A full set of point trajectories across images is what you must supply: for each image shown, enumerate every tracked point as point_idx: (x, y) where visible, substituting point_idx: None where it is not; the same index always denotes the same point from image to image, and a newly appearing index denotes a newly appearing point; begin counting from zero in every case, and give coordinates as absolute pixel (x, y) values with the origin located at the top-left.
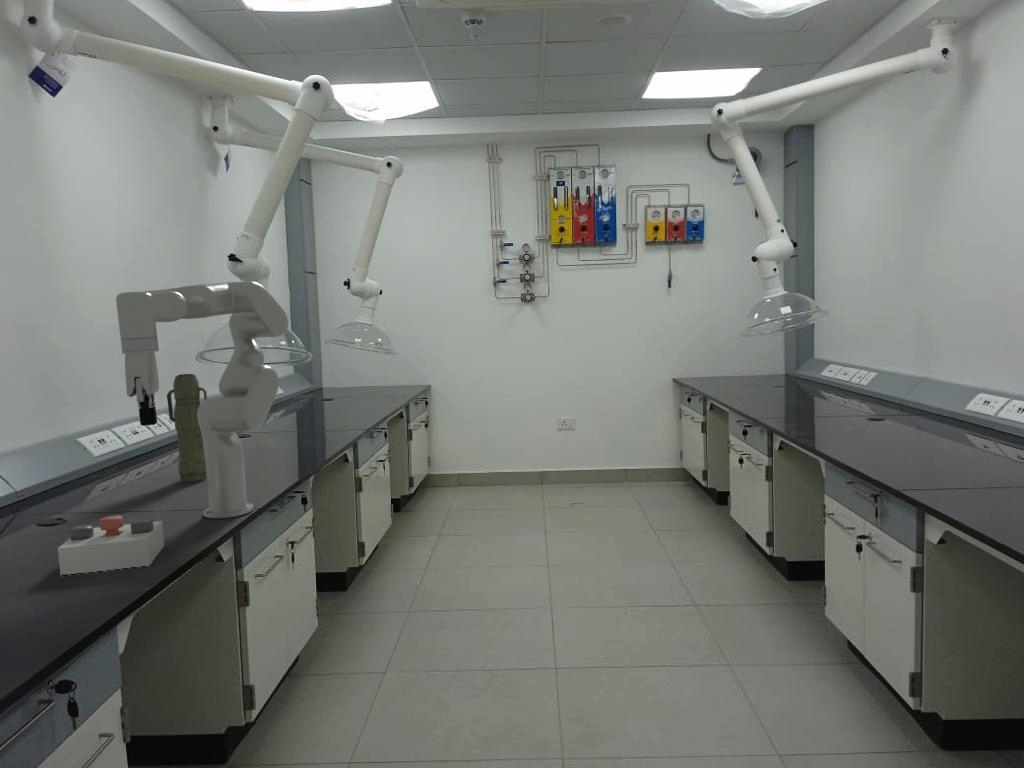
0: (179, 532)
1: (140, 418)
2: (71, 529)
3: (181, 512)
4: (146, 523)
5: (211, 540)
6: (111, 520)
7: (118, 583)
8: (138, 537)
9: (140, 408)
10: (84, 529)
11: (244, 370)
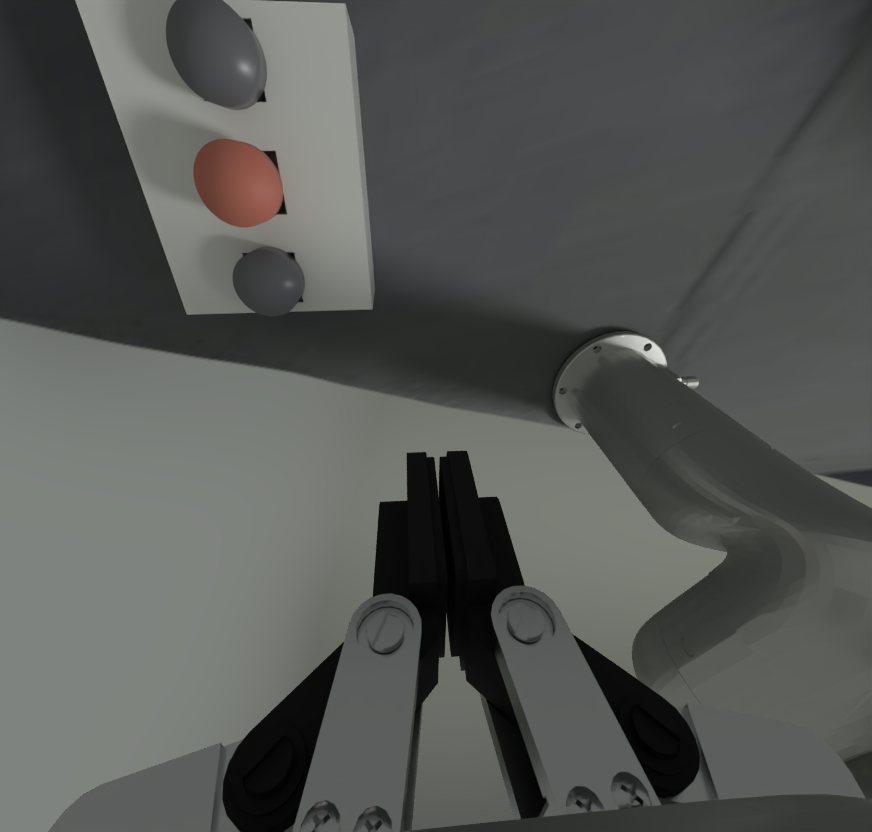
0: (484, 300)
1: (407, 496)
2: (190, 3)
3: (693, 260)
4: (246, 305)
5: (385, 387)
6: (203, 197)
7: (90, 249)
8: (202, 286)
9: (362, 614)
10: (187, 78)
11: None
